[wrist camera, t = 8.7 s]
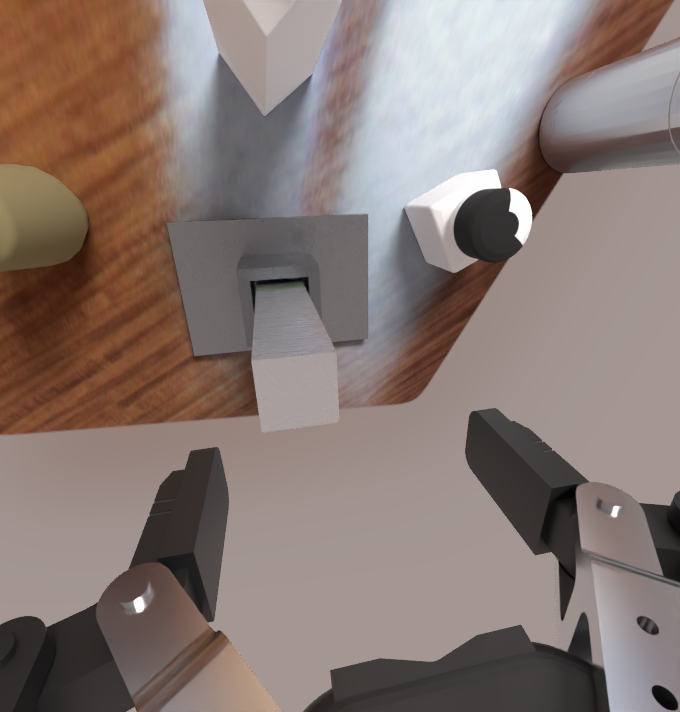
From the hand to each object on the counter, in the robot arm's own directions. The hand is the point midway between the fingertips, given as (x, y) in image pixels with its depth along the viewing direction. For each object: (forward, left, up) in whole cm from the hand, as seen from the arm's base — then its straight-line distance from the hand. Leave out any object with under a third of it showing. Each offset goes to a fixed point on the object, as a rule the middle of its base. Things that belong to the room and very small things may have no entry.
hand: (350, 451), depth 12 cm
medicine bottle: (-18, -5, -32) cm, 37 cm away
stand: (+1, +1, -32) cm, 32 cm away
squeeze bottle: (+21, -7, -32) cm, 39 cm away
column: (+1, +1, -25) cm, 25 cm away
